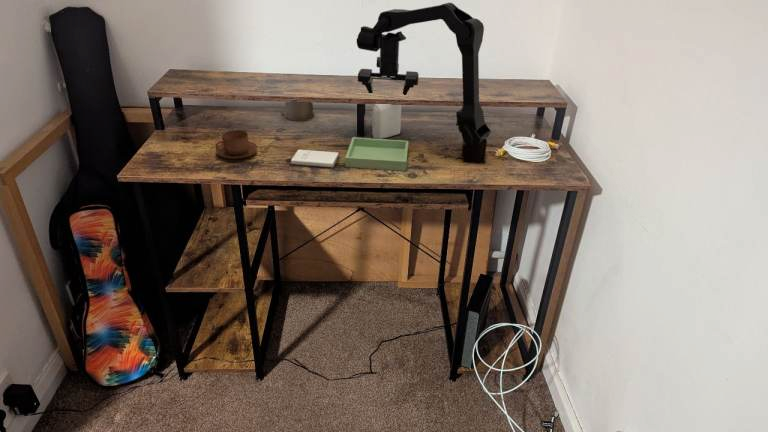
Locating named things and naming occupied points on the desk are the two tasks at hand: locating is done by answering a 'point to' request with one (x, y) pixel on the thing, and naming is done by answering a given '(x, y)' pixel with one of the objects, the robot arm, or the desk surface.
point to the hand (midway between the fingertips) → (387, 103)
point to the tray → (377, 154)
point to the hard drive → (315, 158)
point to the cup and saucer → (235, 145)
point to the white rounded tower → (386, 120)
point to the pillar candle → (299, 111)
